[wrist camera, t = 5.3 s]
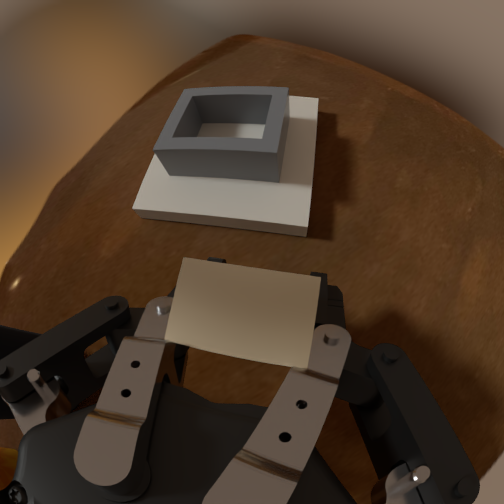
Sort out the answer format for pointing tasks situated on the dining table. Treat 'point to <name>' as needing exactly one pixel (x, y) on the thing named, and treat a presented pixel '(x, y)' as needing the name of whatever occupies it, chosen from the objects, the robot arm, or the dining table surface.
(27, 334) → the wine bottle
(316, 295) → the slat
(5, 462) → the bucket of meat
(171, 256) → the dining table surface
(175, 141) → the socket base
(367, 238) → the dining table surface
